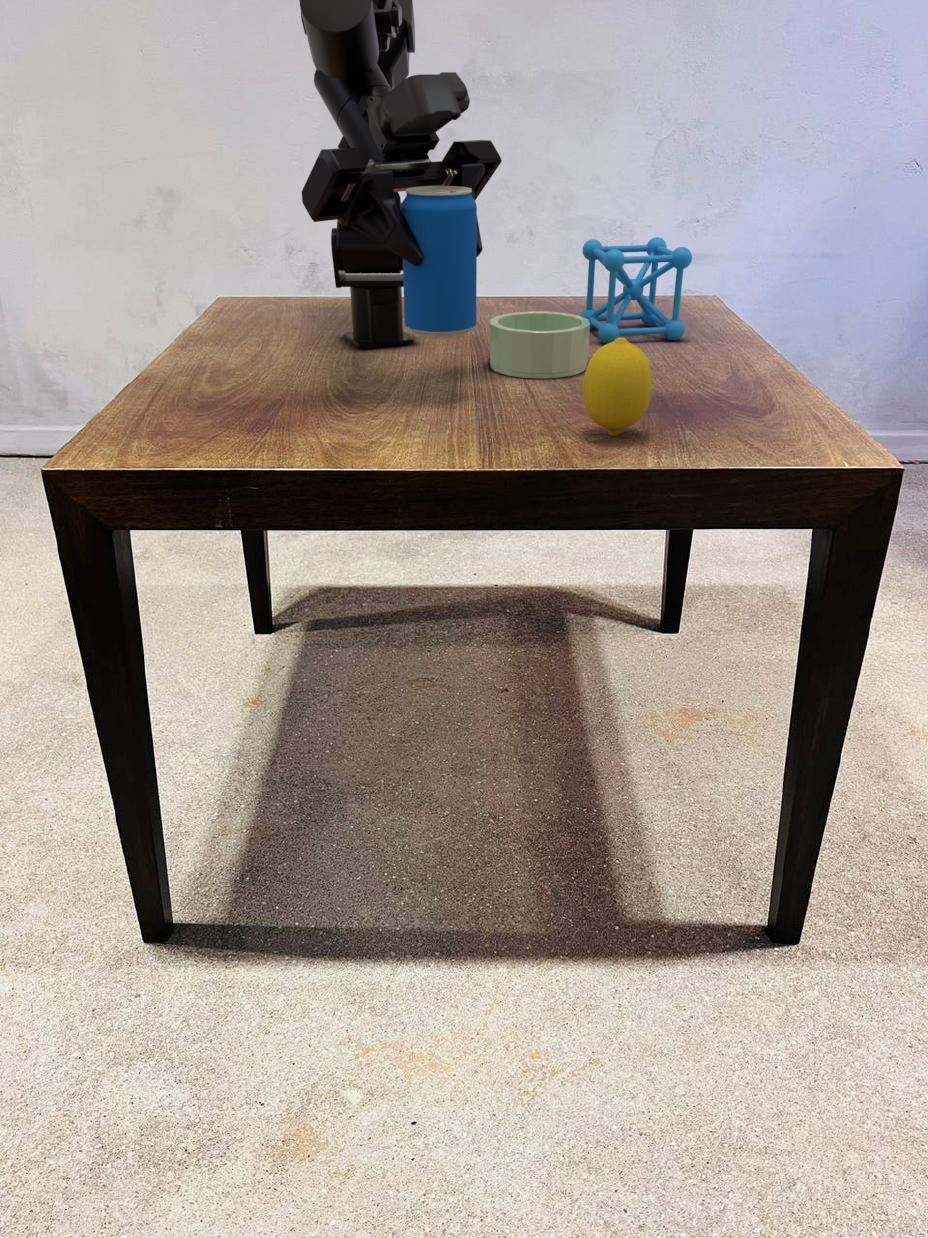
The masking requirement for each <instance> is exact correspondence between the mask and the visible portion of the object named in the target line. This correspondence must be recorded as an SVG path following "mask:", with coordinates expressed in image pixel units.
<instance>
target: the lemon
mask: <svg viewBox="0 0 928 1238" xmlns="http://www.w3.org/2000/svg"><path fill="white" fill-rule="evenodd" d="M652 394H653V377H652V369H651V365H650V362H649V360H648V357H647V356H646V354H645V353H644V352H643V350H642V349H640V348H639V347H638V346H637V345H635V344H633V343H631V342H629V341H628V340H627V339H626V338H625V337H623V336H619V337H618V338H616V339H615V340H614V342H611V343H608V344H606V343H605V344H604V345H603V346H601V347H600V348H598V349H597V350H596V351H595V352H594V353H593V354H592V356H591V357H590V360H588V364H587V368H586V370H585V372H584V377H583V381H582V398H583V403H584V407H585V410H586V412H587V414H588V416H589V417H590V419H591V420H592V421H593V422H594V423H595V424H597V425H598V426H600V427H602V428H603V429H605V430H606V431H607V433H608V434H609V435H610V436H618V435H619V434H621V432H623V431H624V430H625V429H628V428H630V427H632V426H634V425H635V424H637V423H638V422H639V421H641V419H642V418H643V417H644V415H645V414H646V412H647V410H648V409H649V405H650V403H651V399H652Z"/></svg>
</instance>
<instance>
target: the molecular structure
mask: <svg viewBox="0 0 928 1238" xmlns="http://www.w3.org/2000/svg"><path fill="white" fill-rule="evenodd" d="M667 247H668V246H667V242H666V241H665V240H664V238H662V237H659V236H655V237H653V238H651V239H649V240H648V242H647V243H646V244H637V245H636V244H633V245H632V244H631V245H629V244H628V245H605V246H604V245H603V244H602V242H601V241H599V240H598V239H594V238H592V239H589V240H587V241H585V243H584V244H583V246H582V255H583V257H584V258H585V259H586V260H588V269H587V270H588V271H587V288H586V290H587V291H586V306H585V307H586V308H585V309H583V310H582V311H581V312H580V313H579V316H581V317H583V318H586V319H588V320H589V323H590V330H591V329H593V328H596V330H598V338H599V339H600V342H602V343H604V344H605V345H606V344H608V343H611V342H614V340H615V339H616V338H619V337H623V336H644V335H663V334H664V336H665V338H666V339H668V340H670V341H678V340H680V339H681V338H682V337H683V336H684V334H685V330H686V327H685V324H684V323H683V321H681V320H680V319H679V318H680V311H681V310H680V309H681V308H680V307H681V298H682V289H683V278H684V269H687V268H688V267H689V266H691V263H692V260H693V254H692V251H691V250H690V248H688V247H687V246H686V247H685V246H678V247H676V248H675V249H673V250H672V249H669V248H667ZM639 252H640V253H646V254H647V255H633V256H631V255H630V256H625V254H623V253H639ZM596 261H598V262H599V263H600V264H601V265H602V266H603V267H604V268H605V269H606V270H607V271H608V272H609V274H608V275H609V276H608V277H609V278H608V292H607V302H606V303H605V304H603V305H602V306H600V307H598V308H597V309H594V307H593V306H594V289H595V271H596ZM660 263H665V264H664V265H662V266H661V267H660V268H659V264H660ZM627 264H630V265H631V264H642V266H641V268H640V269H639V272H638V274H637V275H636V277H635V278H630V277H629V275H628V273H627V272H626V270H625V269H624V265H627ZM650 267H651V269H650V274H649V275H647V276H646V274H647V272H648V270H649V268H650ZM673 268H674V269H676V273H675V283H674V294H673V305H672V306H673V307H672V313H671V314H672V315H671V319H669V318H667V316H665V314H663V312H662V311H661V310H660V309H659V308H658V307H657V306H655V305H656V293H657V280H658V278H660V277H661V276H662V275H664V274H665V273H667V272H669V271H670V270H671V269H673ZM645 276H646V277H645ZM617 281H619V282H620V283H621V284H622V285H623V286H622V292H621V293H620V294H619V295H617V296H616V286H617V285H616V283H617ZM647 285H649V292H648V293H649V294H648V298H647V297H646V296H645V295H644V294H643V293H644V287H645V286H647ZM631 301H636V302H637V304H638V305H639V307H640V308H641V312H635V313H634V312H633V313H632V312H631V313H625V312H626V310H627V308H628V306H629V305H630V303H631ZM619 303H620V306H619V307H618V309H617V311H616V313H615V306H616V305H618V304H619ZM605 312H606V314H604V313H605ZM636 320H637V321H638V320H639V321H640V320H641V322H642V324H643V325H645V326H647V327H631V328H619V326H618V324H619V323H620V321H636ZM601 322H604V323H601ZM655 325H658V326H655ZM652 326H655V327H652Z"/></svg>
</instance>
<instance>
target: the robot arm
mask: <svg viewBox="0 0 928 1238" xmlns="http://www.w3.org/2000/svg"><path fill="white" fill-rule="evenodd" d="M298 1H299V8H300V19H301V23H302V28H303V32H304V35H305V36H306V38H307V43H308V47H309V50H310V55H311V59H312V62H313V65H314V68H315V71H314V75H313V84H314V87H315V89H316V90H317V93H318V94H319V96H320V98H321V99H322V101H323V103H324V105H325V106H326V108H327V110H328V113H329V114H330V115H331V118H332V119H333V121H334V123H335V124H336V126H337V128H338V130H339V132H340V133H341V135H342V137H341V139H340V141H339V143H338V145H337V148H322V149H320V152H319V153H318V155H317V157H316V159H315V162H314V164H313V167H312V168H311V171H310V173H309V175H308V177H307V179H306V180H305V184H304V185H303V188H302V190H301V201H302V204H303V206H304V208H305V211H306V212H307V214H308V216H309V218H310V219H311V220H312V221H313V222H314V223H318V222H327V221H336V227H332V228H331V232H330V246H331V259H332V267H333V275H334V283H335V288H336V289H341V288H349V291H350V309H351V311H350V312H351V325H352V331H346V332H345V331H344V332H343V338H344V339H346V340H347V341H349V342H350V343H351V345H354V346H355V347H356V348H358V349H368V348H377V347H388V346H398V345H400V346H401V345H409V344H414V342H415V341H414V338H413V337H412V336H410V335H409V334H407V333H406V332H404V315H403V314H404V313H403V311H404V310H403V288H404V286H403V273H402V272H403V259H405V260H406V261H408V262H409V263H411V264H412V265H414V266H420V264H421V263H422V261H423V259H424V257H423V254H422V252H421V249H420V247H419V245H418V242H417V240H416V238H415V236H414V234H413V233H412V231H411V229H410V227H409V225H408V223H407V221H406V219H405V217H404V215H403V214H402V212H401V205H402V201H401V199H402V198H401V195H400V192H406V189H407V188H412V187H422V186H458V187H467V188H471V189H472V192H471V196H472V197H473V199H474V201H475V202H476V200H477V199H478V198H479V196H480V194H481V193H482V191H483V190H484V188H485V187H486V185H487V184H488V183H489V181H490V180H491V178H492V176H493V175H494V174H495V173H496V171H497V169H498V168H499V166H500V165H501V164H502V162H503V161H502V157H501V155H500V154H499V152H498V150H497V148H496V146H495V145H494V143H493V141H492V140H490V139H473V140H455V141H453V142H452V144H451V145H450V147H449V149H448V150H447V152H446V153H445V154H444V157H443V158H442V160H440V161H439V160H438V161H432V160H431V159H430V156H429V152H430V151H434V150H435V149H436V147H437V145H438V144H439V142H440V141H441V139H440V137H439V135H438V134H437V132H438V131H439V130H441V129H442V128H443V127H445V126H446V125H447V124H449V123H450V122H451V121H458V119H459V118H461V116H462V114H463V113H465V112H466V111H467V110H468V109H469V107H470V103H471V100H470V96H469V92H468V88H467V86H466V84H465V83H464V82H463V80H462V78H461V77H460V76H459V75H458V74H457V73H458V72H455V71H451V72H449V71H448V72H446V71H445V72H440V73H439V74H435V73H434V74H431V73H430V74H428V73H427V74H426V73H425V74H413V75H411V76H409V74H410V54H413V53H414V54H415V53H416V26H415V25H416V24H415V23H416V22H415V12H414V1H413V0H298ZM482 252H483V243H482V237H481V232H480V226H479V220H478V218H477V258H478V257H480V255H481V253H482Z"/></svg>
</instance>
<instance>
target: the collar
mask: <svg viewBox="0 0 928 1238" xmlns="http://www.w3.org/2000/svg"><path fill="white" fill-rule="evenodd" d="M489 323H490V324H489V367H490V369H491V370H492V371H495V373H498V374H501V375H504V376H509V377H513V378H514V377H515V378H523V379H539V380H540V379H545V380H546V379H556V378H557V379H560V378H566V377H571V376H575V375H578V374H581V373H583V372H584V371H585V372H586V369H587V366H588V363H589V353H590V334H591V333H590V331H591V329H590V323H589V320H588V319H586V318H583V317H581V316H580V315H578V314H573V313H567V312H559V311H546V310H545V311H542V310H541V311H539V310H538V311H521V312H520V311H519V312H509V313H503V314H500V315H496V316H495V317H492V318H491V319H489Z"/></svg>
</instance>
